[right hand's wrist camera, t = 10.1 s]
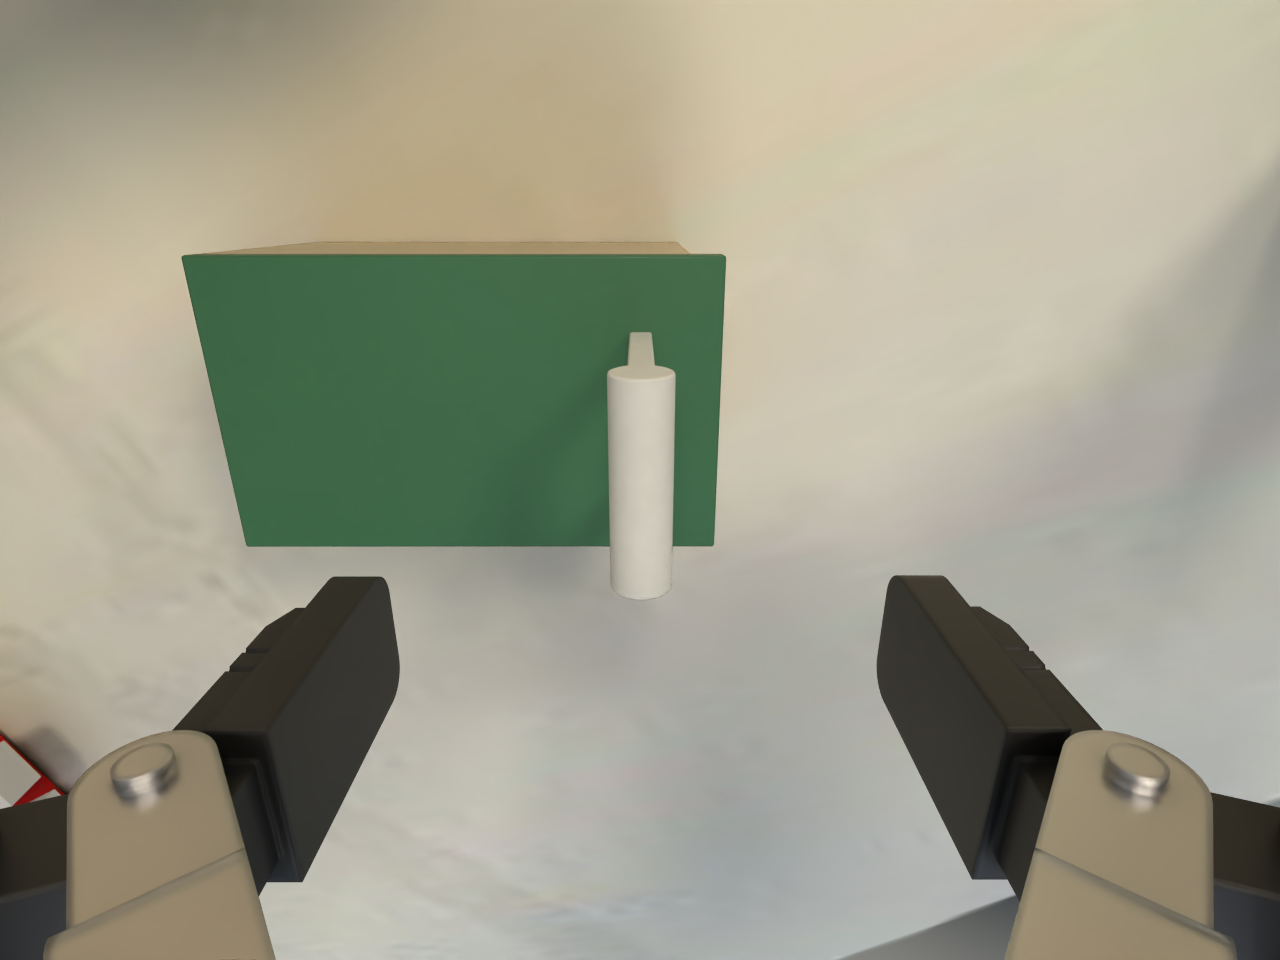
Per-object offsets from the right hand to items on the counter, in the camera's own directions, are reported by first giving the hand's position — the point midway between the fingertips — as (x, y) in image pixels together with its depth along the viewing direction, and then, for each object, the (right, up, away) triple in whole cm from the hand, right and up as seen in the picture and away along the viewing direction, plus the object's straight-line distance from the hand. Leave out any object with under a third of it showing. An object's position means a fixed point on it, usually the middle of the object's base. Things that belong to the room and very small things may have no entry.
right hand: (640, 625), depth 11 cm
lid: (-6, +5, +13) cm, 15 cm away
